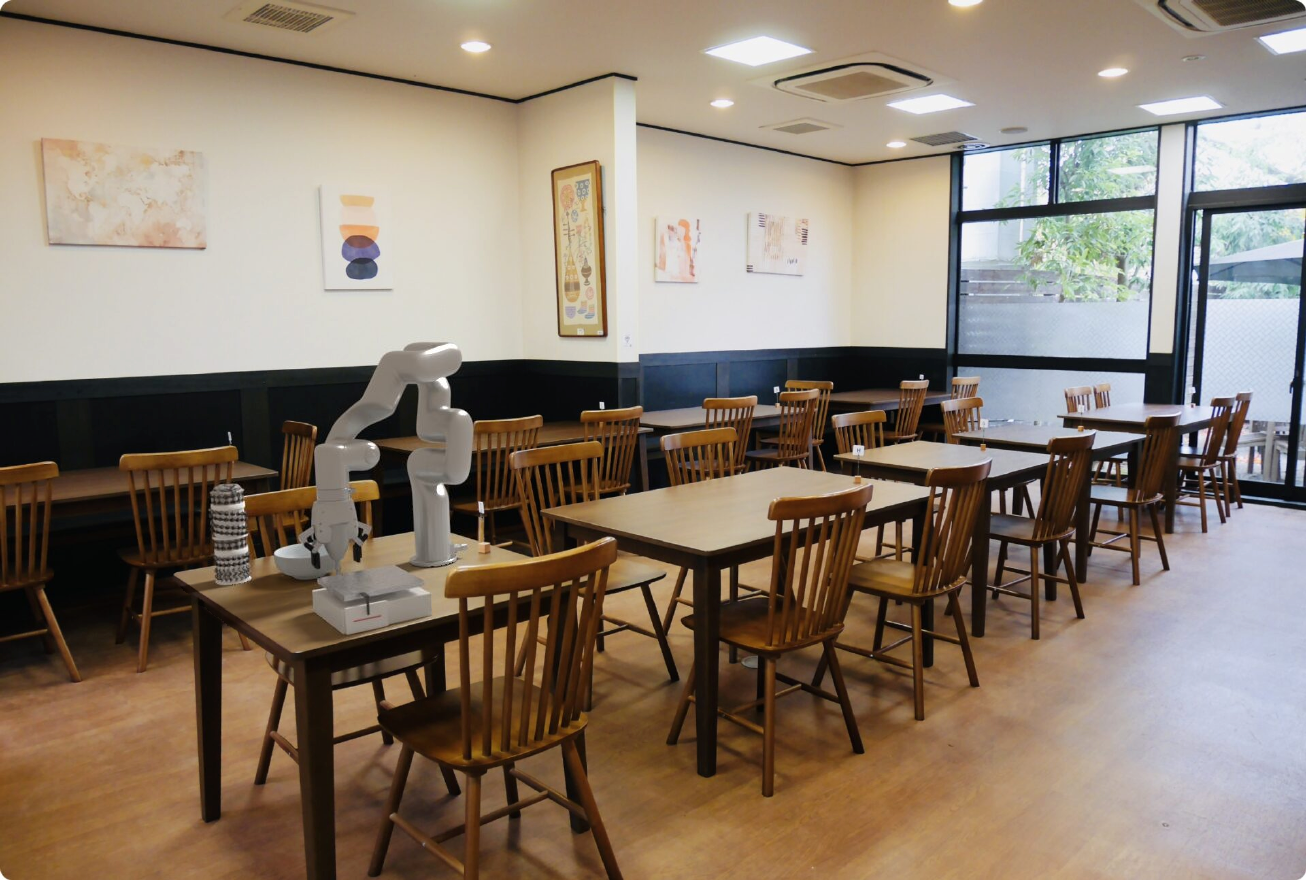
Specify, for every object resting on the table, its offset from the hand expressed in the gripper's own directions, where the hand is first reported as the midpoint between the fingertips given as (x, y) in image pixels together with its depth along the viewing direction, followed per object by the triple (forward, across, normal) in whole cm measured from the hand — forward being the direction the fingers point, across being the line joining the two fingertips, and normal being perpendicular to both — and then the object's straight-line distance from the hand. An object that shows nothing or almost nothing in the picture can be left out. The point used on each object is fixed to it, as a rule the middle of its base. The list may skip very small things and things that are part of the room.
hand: (337, 564), depth 223 cm
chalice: (+8, 0, 0) cm, 8 cm away
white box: (+6, -1, +20) cm, 21 cm away
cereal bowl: (+8, 0, -23) cm, 24 cm away
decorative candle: (+8, +17, -31) cm, 36 cm away
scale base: (+8, -1, +19) cm, 20 cm away
